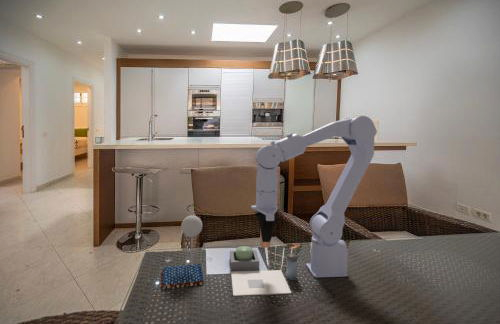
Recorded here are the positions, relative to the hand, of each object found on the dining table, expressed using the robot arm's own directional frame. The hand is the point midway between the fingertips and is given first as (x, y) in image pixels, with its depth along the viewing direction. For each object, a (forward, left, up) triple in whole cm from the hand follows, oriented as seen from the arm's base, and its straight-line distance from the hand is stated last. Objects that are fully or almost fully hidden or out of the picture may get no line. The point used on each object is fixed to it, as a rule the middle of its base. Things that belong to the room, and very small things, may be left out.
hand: (265, 239), depth 81 cm
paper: (+2, +5, -10) cm, 11 cm away
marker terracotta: (0, 0, -2) cm, 2 cm away
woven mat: (+22, +1, -10) cm, 25 cm away
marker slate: (-7, +3, -10) cm, 12 cm away
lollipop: (+20, -5, -10) cm, 23 cm away
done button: (+5, -6, -8) cm, 11 cm away
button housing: (+5, -6, -10) cm, 12 cm away
